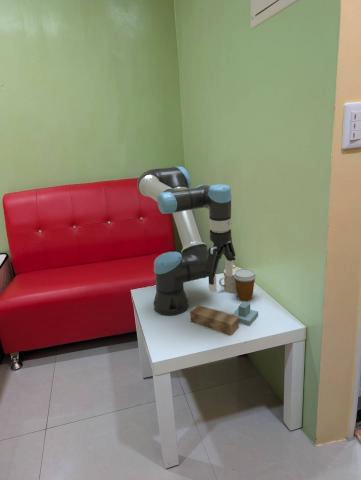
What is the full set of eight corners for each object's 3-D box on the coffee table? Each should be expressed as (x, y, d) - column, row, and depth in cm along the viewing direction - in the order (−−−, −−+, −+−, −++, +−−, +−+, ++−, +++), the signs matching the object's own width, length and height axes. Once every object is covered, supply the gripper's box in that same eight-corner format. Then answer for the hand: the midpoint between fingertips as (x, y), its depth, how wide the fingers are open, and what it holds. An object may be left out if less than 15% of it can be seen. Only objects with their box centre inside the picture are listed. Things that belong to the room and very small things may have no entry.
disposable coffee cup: (256, 303, 149) (256, 277, 145) (233, 302, 151) (232, 277, 147) (256, 292, 157) (256, 268, 154) (234, 292, 159) (234, 268, 156)
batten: (190, 322, 139) (190, 311, 137) (198, 315, 143) (198, 304, 142) (231, 336, 128) (231, 324, 127) (238, 328, 133) (238, 316, 131)
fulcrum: (230, 320, 138) (230, 306, 136) (239, 310, 144) (239, 297, 142) (249, 325, 133) (249, 311, 131) (258, 315, 140) (258, 302, 138)
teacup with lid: (237, 282, 168) (236, 260, 164) (247, 290, 160) (247, 267, 156) (214, 288, 164) (214, 265, 160) (224, 296, 156) (223, 272, 152)
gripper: (213, 242, 111) (214, 301, 119) (244, 220, 131) (243, 271, 138) (193, 239, 115) (195, 296, 123) (226, 218, 135) (226, 268, 142)
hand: (221, 283), depth 131 cm, fingers open, 13 cm apart
